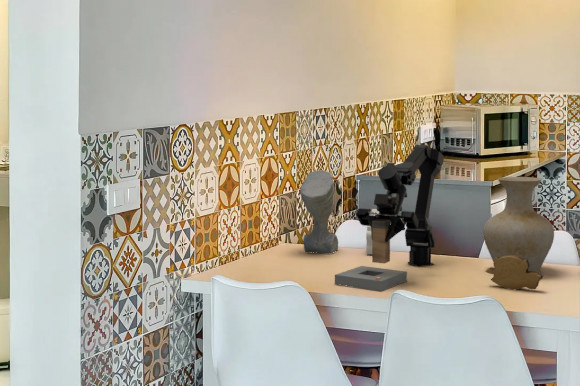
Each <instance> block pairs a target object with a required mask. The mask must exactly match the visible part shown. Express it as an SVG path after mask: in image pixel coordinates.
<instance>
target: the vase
mask: <svg viewBox="0 0 580 386" xmlns="http://www.w3.org/2000/svg"><path fill="white" fill-rule="evenodd" d="M497 180H498V182H499V183H500V185H501V186H503V187H504V188H505V191H506V192H505V193H506V201H505V202H506V203H505V206H504V209H503V210H502V211H500V212H499V213H496V214H494V215H493V216H492V217H490V218H489V219H488V220H487V221H486V222H485V224H484V227H483V231H482V232H483V240H484V243H485V246H486V248H487V249H486V250H488V252H489V253H488V254H489V255H490V258H491V259H492V261H493V262H492V263H494V260H495V258H497V257H502V256H507V255H514V256H518V257H521V258H522V259H524V260H525V259H528V262H529V264H530V266H529V268H528V271H537V272H539V273H540V274H541V269H542V265H543V263H544V261H545V260H546V258H547V256H548V254H549V252H550V251H551V248H552V245H553V243H554V239H555V228H554V226H553V224H552V223H551V222H550V220H548V219H547V218H546V217H544V216H543V215H542V214H541V213H540V214H539V213H537V212H536V211H535V208H534V206H533V192H534V190H535V188H536V187H538V186H539V185H540V183H541V182H542V181H543V179H542V178H539V177H531V176H504V177H498V178H497Z"/></svg>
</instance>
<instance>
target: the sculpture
mask: <svg viewBox="0 0 580 386" xmlns="http://www.w3.org/2000/svg"><path fill="white" fill-rule="evenodd" d="M335 190H336V189H335V185H334V178H333V174H332V173H331V172H330V171H326V170H324V169H316V170H313V171H312V172H311V171H310V172H309V173H307V175H306V178H305V179H304V181H303V183H302V185H301V186H300V193H301V195H300V198H301V200H302V202H303V204H304V206H305V209H306V211H308V212H309V213H310V215H311V217H312V218H313V227H312V229H311V232H310V233H309V232H308V233H306V234H304V235H303V239H302V240H303V250H304V251H305V252H304V253H306V252H312V253H311V254H321V253H333V252H335V251H336V250H337V249H338V248H339V239H338V236H337V235H336V234H334V233H332V232H330V231H329V228H328V227H329V224H328V223H329V218H330V216H331V215H332V213H333V211H334V208H335V207H334V206H335V205H334V199H335V196H334V194H335ZM338 250H339V249H338ZM338 250H337V251H338ZM337 251H336V252H337ZM313 252H314V253H313ZM316 252H317V253H316ZM336 252H335V253H336ZM333 254H334V253H333Z"/></svg>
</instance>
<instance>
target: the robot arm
mask: <svg viewBox="0 0 580 386" xmlns="http://www.w3.org/2000/svg"><path fill="white" fill-rule="evenodd" d="M412 149H413V150H412V151H411V152H410V153H409V154H408V155H407V157H406V158H405V159H404V161H402V162H401V163H397V164H395V163H394V162H387V165H384V166H382V167H381V168H380V169H378V172H377V174H378V178H379V179H380V182H381V184H382V187H383V189H384V190H386V193H375V194H374V199H373V200H374V201H373V205H375V206H376V209H377V211H379V214H378V213H376V212H372V208H365V207H364V208H362V207H360V208H358V209H357V210H356V213H355V215H356V218H357V219H358V221H359V223H360V225H362V226H365V227H367V226H371V237H372V221H374V220H377V219H380V220H390V227H389V230H388V232H387V235H386V238H385V241H386V242H388V241H389V240H390V241H391V239H393V238H394V237H395V236H396V235H398V234H399V233H400V232H402V231H405V233H404V238H405V244H406V245H405V246H406V247H410V249H409V253H408V259H409V260H408V262H407V264H409V265H413V266H414V267H425V266H434V262H432V249H433V248H435V247H436V238H435V235H434V232H433V230H432V229H433V228H432V227H433V226H432V224H431V221H430V219H429V216H430V210H431V204H432V197H433V189H434V183H435V178H436V177H437V176H438V175H439V173H440V172H441V170H442V166H443V164H444V155H443V154H442V153H441V151H439V150H437V149H435V148H433V147H431V145H428V144H417V145H414V146H413V148H412ZM417 170H418V171H419V174H420V176H419V177H420V178H419V184H418V190H417V197H416V203H415V209H414V211H411V210H403V207H402V205H403V202H404V200H405V198H408V192H407V188H406V186H412V185H413V184H414V182H415V181H416V178H417V175H416V172H417ZM400 212H401V213H400ZM405 227H406V228H405Z"/></svg>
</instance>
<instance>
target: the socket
mask: <svg viewBox="0 0 580 386" xmlns="http://www.w3.org/2000/svg"><path fill="white" fill-rule="evenodd" d="M407 275H408V272H407V271H406V270H405V271H404V270H400V269H399V270H398V269H390V268H381V267H374V266H366V265H360V266H357V267H354V268H351V269H348V270H345V271H342V272H339V273H336V274H334V285H335V284H341V285H347V286H346V287H348V286H353V287H352V288H355V287H358V288H357V289H362V288H363V289H362V290H370V291H377V292H378V291H379V292H382V291H383V292H384V291H385V290H388V289H390V288H393V287H396V286H398V285H400V284H403V283H405V282H407V280H408V278H407V277H408V276H407ZM341 285H340V286H341Z"/></svg>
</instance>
